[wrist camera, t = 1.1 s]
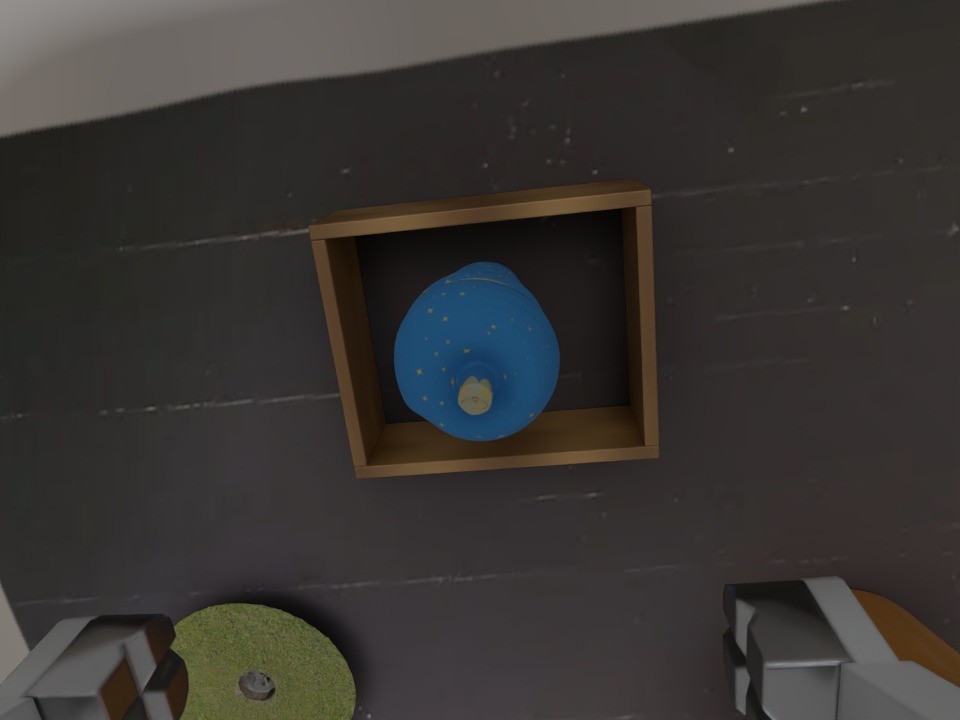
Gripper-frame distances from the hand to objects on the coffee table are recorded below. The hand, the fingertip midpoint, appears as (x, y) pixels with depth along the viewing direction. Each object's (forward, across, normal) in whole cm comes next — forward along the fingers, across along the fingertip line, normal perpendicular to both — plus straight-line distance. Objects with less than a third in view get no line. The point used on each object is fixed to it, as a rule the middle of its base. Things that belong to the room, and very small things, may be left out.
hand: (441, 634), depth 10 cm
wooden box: (+23, 0, +2) cm, 23 cm away
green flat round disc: (+23, +16, +21) cm, 35 cm away
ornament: (+23, 0, 0) cm, 23 cm away
